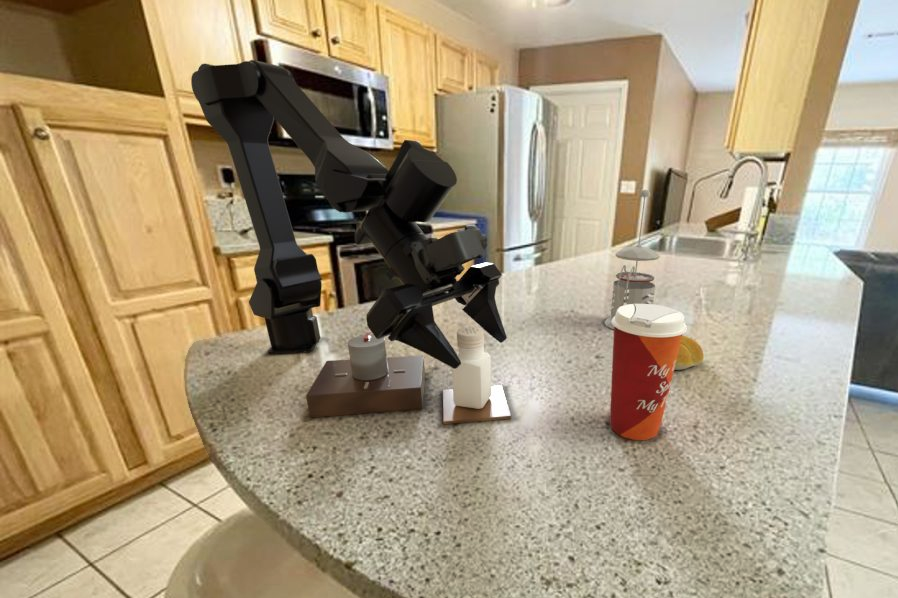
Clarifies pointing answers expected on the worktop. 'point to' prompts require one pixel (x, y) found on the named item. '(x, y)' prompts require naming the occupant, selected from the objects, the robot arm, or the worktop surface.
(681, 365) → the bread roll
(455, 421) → the coaster
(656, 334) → the paper cup
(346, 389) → the panel
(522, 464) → the worktop surface
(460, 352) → the pepper shaker
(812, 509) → the worktop surface
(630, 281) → the french press
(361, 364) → the knob
